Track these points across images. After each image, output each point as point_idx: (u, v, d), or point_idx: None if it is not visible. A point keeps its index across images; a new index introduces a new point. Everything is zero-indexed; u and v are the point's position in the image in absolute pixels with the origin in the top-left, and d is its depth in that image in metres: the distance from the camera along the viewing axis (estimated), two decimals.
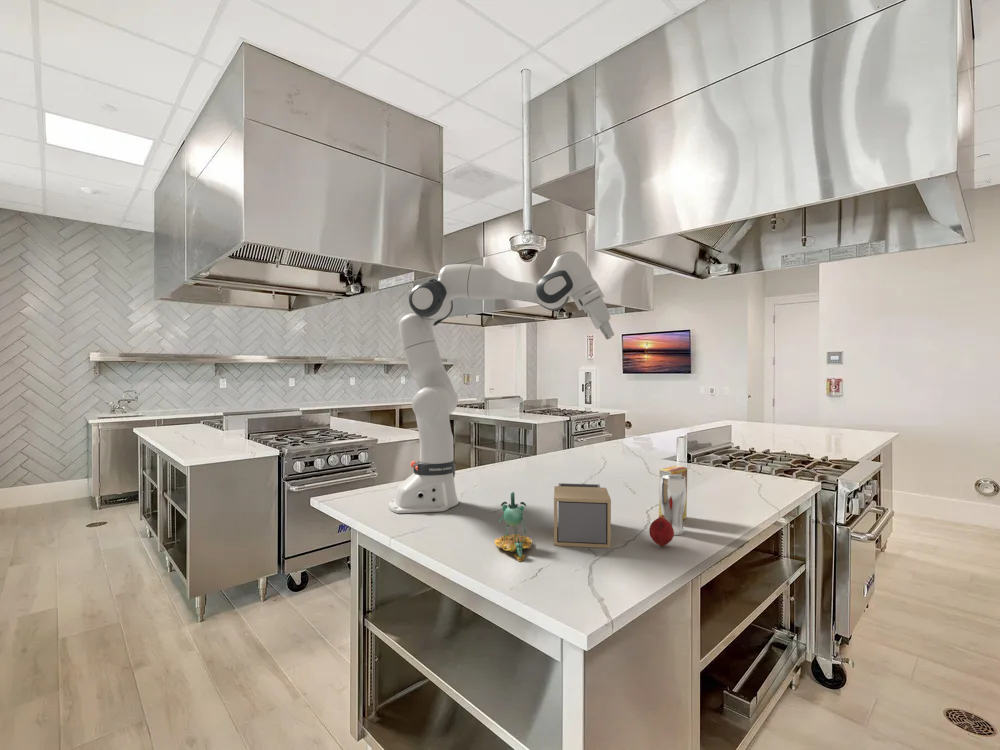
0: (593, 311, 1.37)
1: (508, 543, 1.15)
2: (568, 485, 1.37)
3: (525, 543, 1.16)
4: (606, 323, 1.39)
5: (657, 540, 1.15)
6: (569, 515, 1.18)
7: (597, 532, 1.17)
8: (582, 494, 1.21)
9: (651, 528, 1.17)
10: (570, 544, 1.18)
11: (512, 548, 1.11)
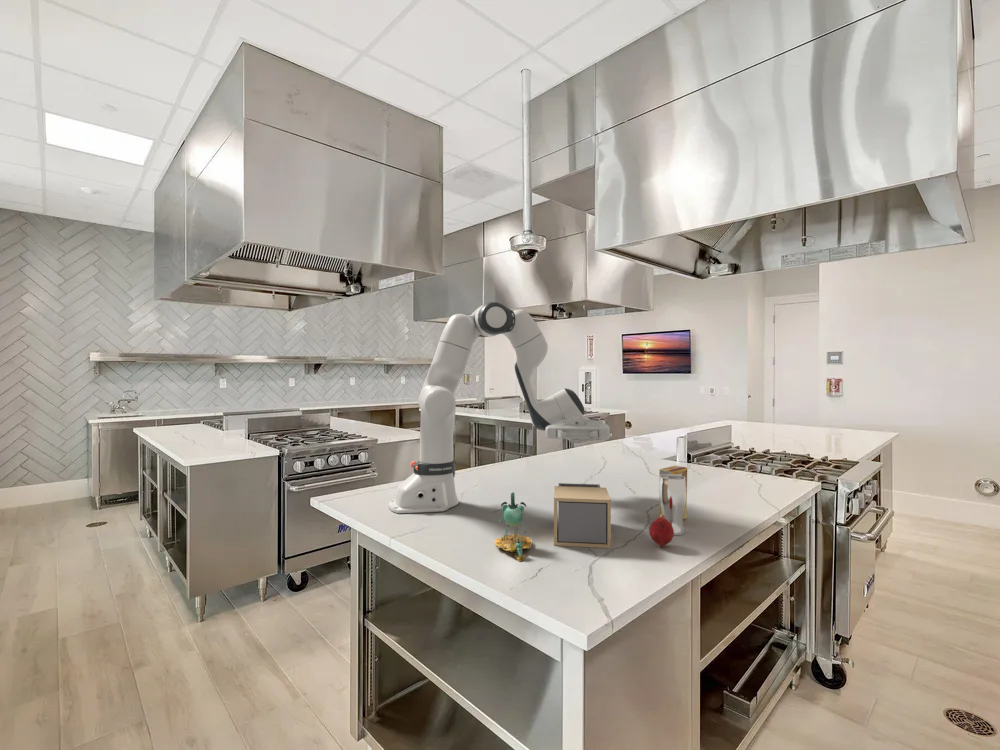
0: None
1: (508, 543, 1.15)
2: (568, 485, 1.37)
3: (525, 543, 1.16)
4: (597, 434, 1.46)
5: (657, 540, 1.15)
6: (569, 515, 1.18)
7: (597, 532, 1.17)
8: (582, 494, 1.21)
9: (651, 528, 1.17)
10: (570, 544, 1.18)
11: (512, 548, 1.12)
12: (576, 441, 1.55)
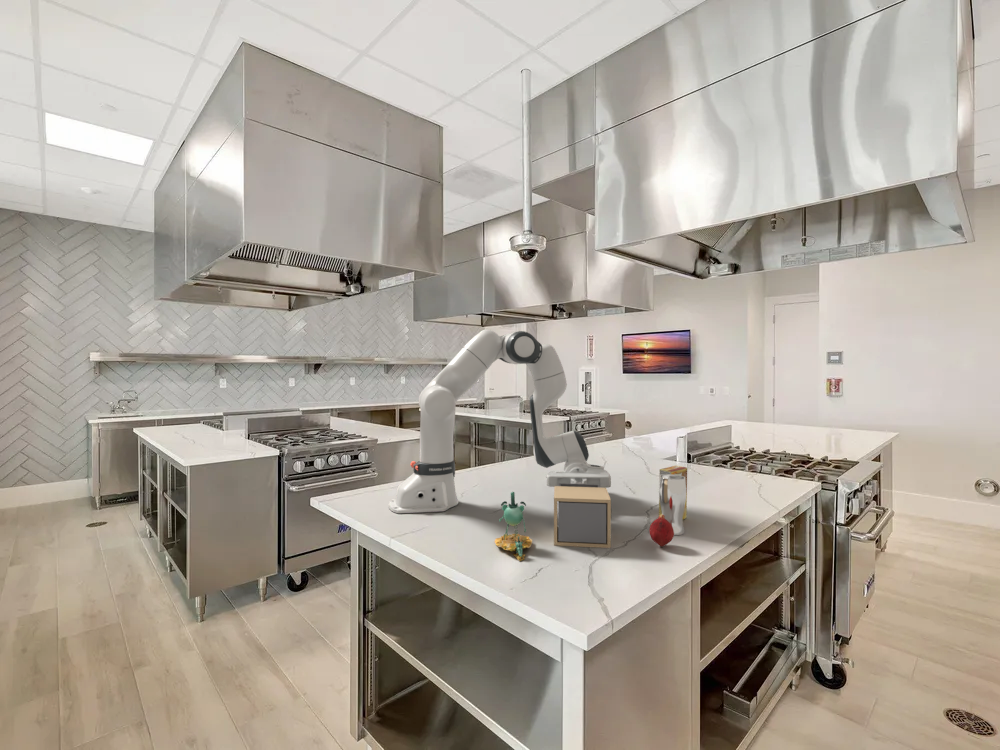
0: None
1: (508, 543, 1.16)
2: (568, 485, 1.37)
3: (525, 543, 1.16)
4: (586, 483, 1.47)
5: (657, 540, 1.15)
6: (569, 515, 1.18)
7: (597, 532, 1.17)
8: (582, 494, 1.21)
9: (651, 528, 1.17)
10: (570, 544, 1.18)
11: (512, 548, 1.12)
12: None
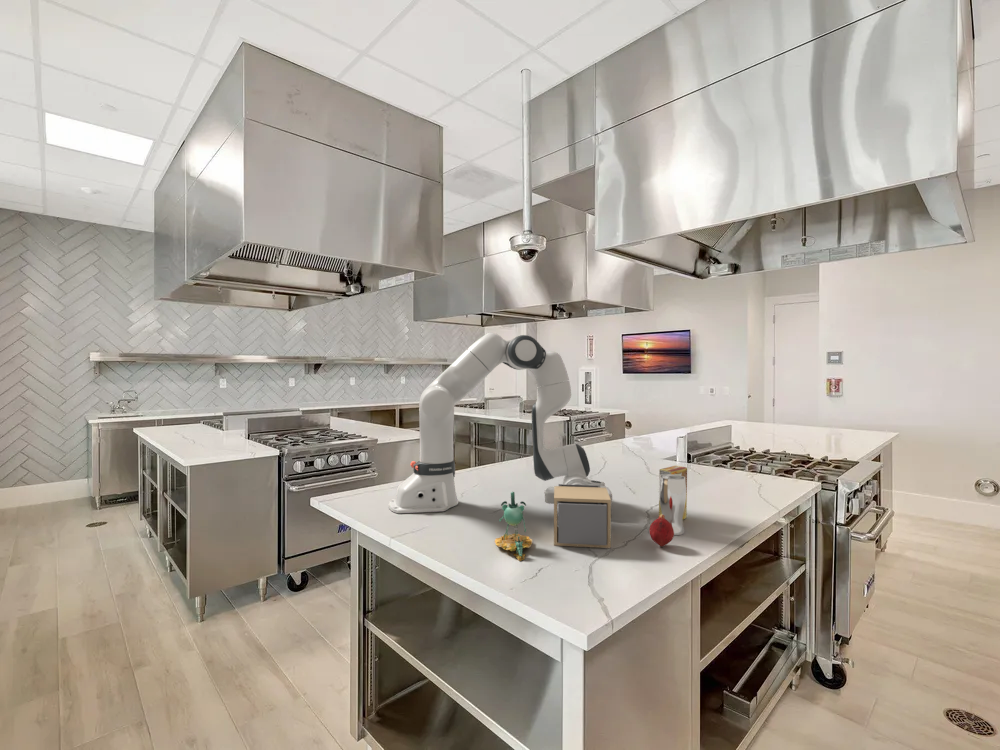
0: None
1: (508, 542, 1.16)
2: (568, 486, 1.36)
3: (525, 542, 1.16)
4: None
5: (657, 540, 1.15)
6: (569, 517, 1.16)
7: (597, 534, 1.16)
8: (582, 494, 1.21)
9: (651, 528, 1.17)
10: (570, 544, 1.18)
11: (512, 547, 1.12)
12: None
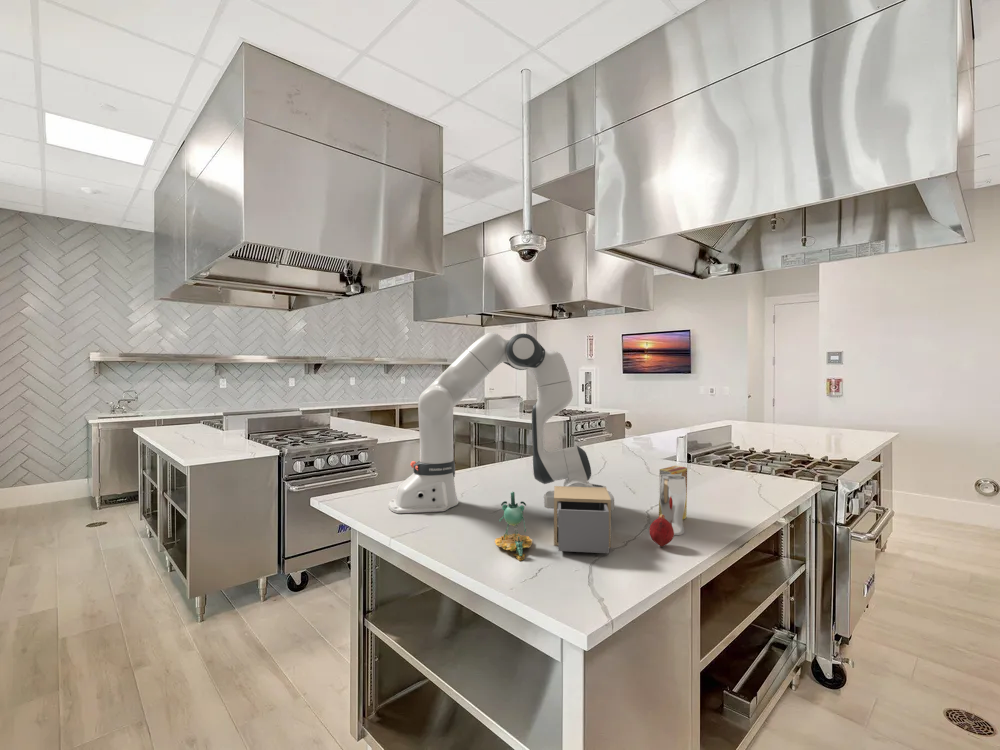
0: None
1: (508, 542, 1.16)
2: None
3: (525, 542, 1.16)
4: None
5: (657, 540, 1.15)
6: (569, 523, 1.11)
7: (599, 541, 1.11)
8: (582, 494, 1.21)
9: (651, 528, 1.17)
10: None
11: (512, 547, 1.12)
12: None
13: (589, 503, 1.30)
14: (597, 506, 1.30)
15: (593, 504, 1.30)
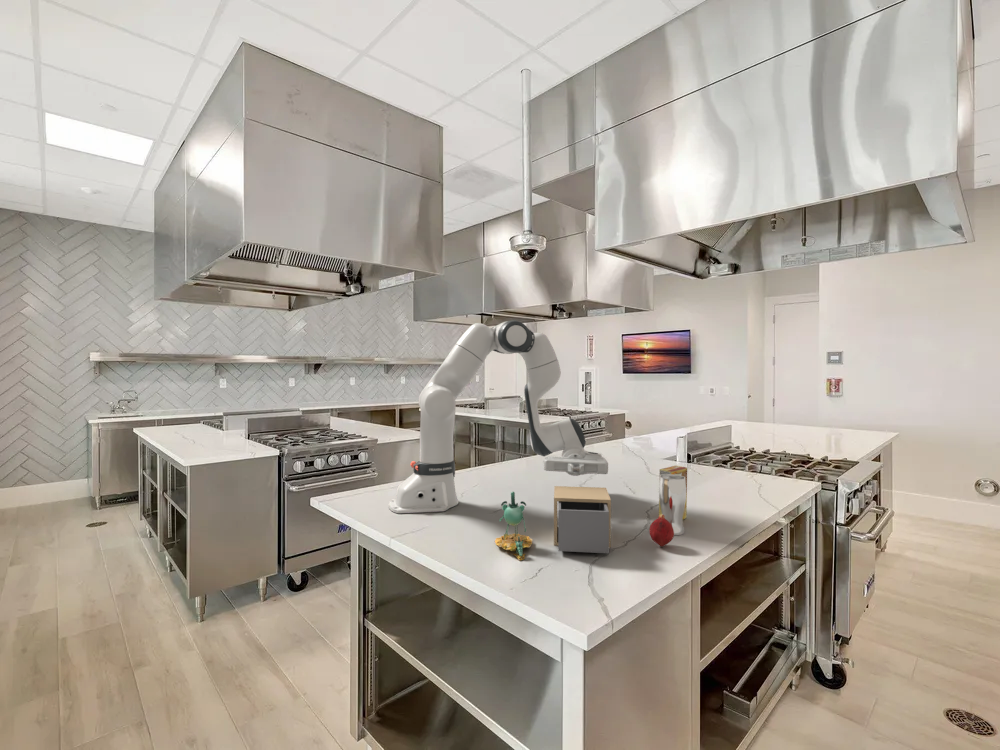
0: None
1: (508, 542, 1.16)
2: None
3: (525, 542, 1.16)
4: (584, 468, 1.47)
5: (657, 540, 1.15)
6: (569, 523, 1.11)
7: (599, 541, 1.11)
8: (582, 494, 1.21)
9: (651, 528, 1.17)
10: None
11: (512, 547, 1.12)
12: (574, 474, 1.55)
13: (589, 504, 1.30)
14: (597, 506, 1.30)
15: (593, 504, 1.30)
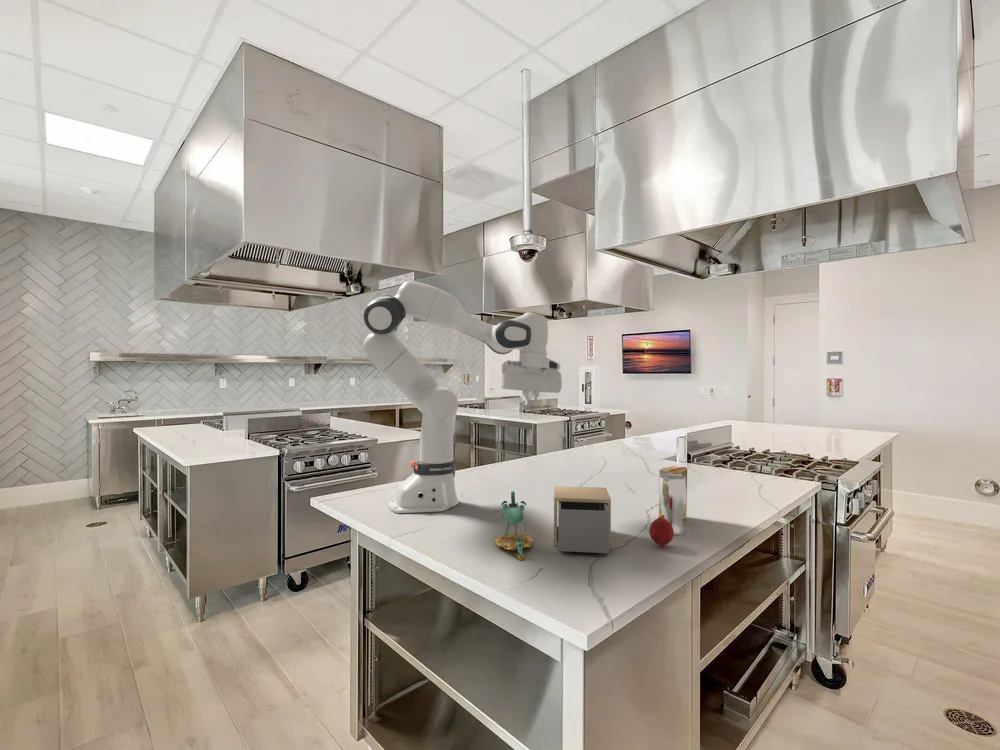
0: None
1: (508, 542, 1.16)
2: None
3: (525, 542, 1.16)
4: None
5: (657, 540, 1.15)
6: (569, 523, 1.11)
7: (599, 541, 1.11)
8: (582, 494, 1.21)
9: (651, 528, 1.17)
10: None
11: (513, 547, 1.12)
12: None
13: (589, 504, 1.30)
14: (597, 506, 1.30)
15: (593, 504, 1.30)
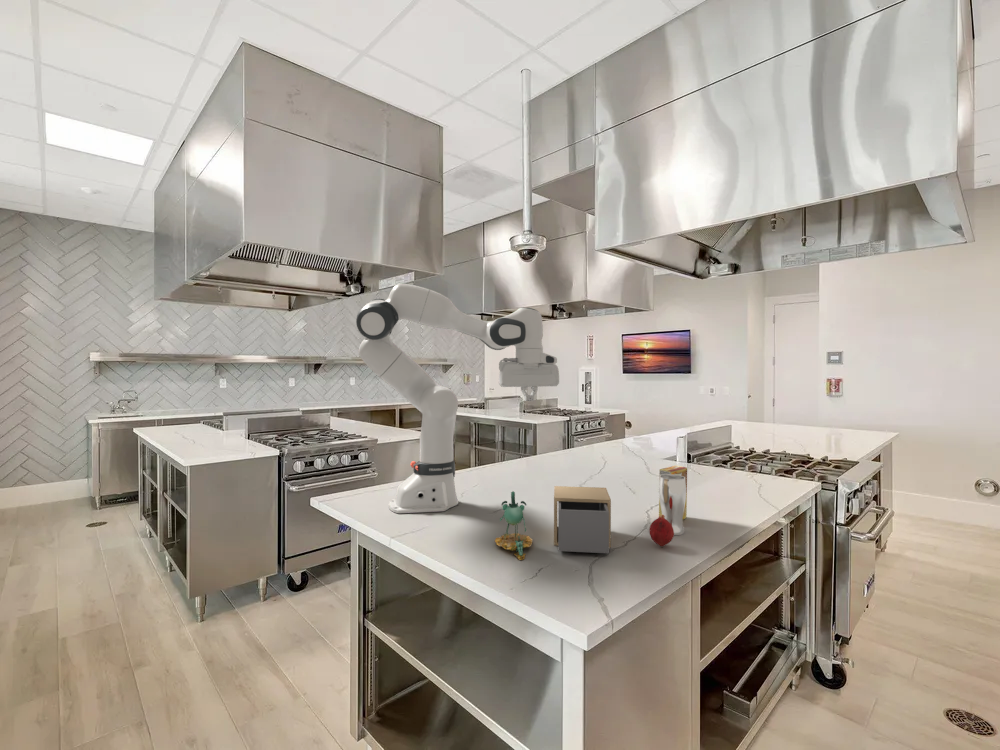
0: None
1: (509, 542, 1.16)
2: None
3: (525, 542, 1.16)
4: None
5: (657, 540, 1.15)
6: (569, 523, 1.11)
7: (599, 541, 1.11)
8: (582, 494, 1.21)
9: (651, 528, 1.17)
10: None
11: (513, 547, 1.12)
12: None
13: (589, 504, 1.30)
14: (597, 506, 1.30)
15: (593, 504, 1.30)
